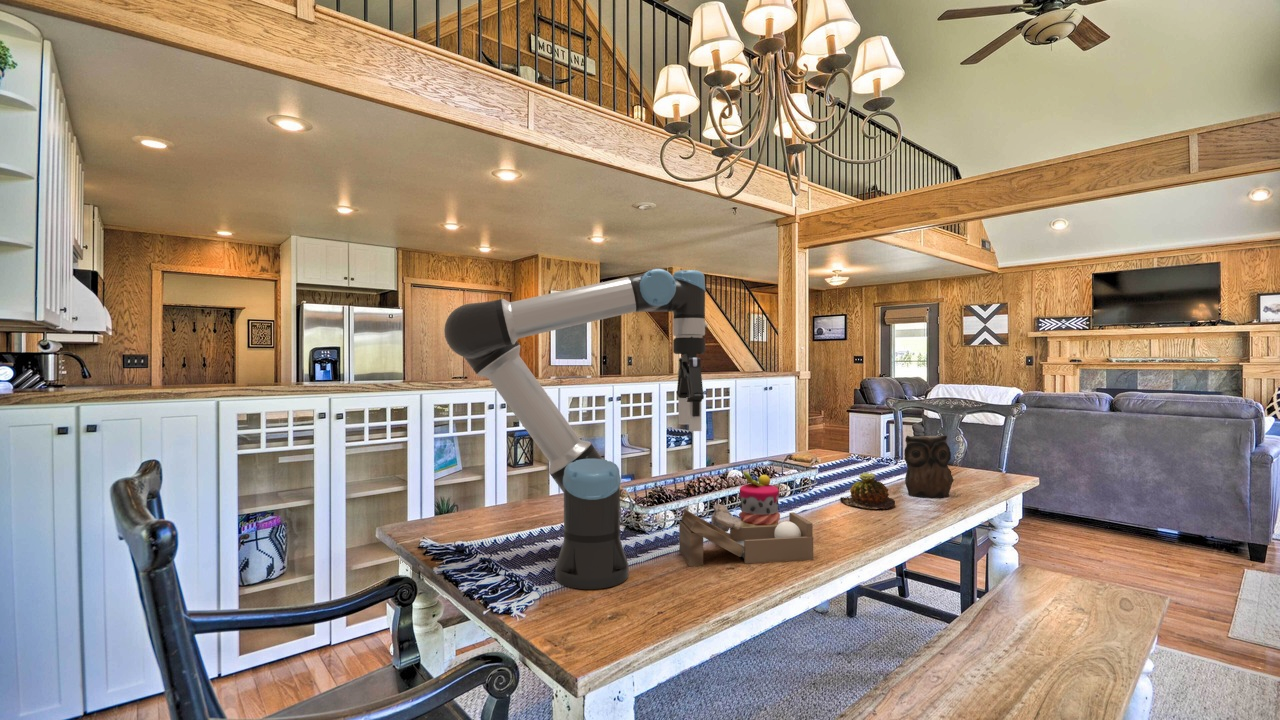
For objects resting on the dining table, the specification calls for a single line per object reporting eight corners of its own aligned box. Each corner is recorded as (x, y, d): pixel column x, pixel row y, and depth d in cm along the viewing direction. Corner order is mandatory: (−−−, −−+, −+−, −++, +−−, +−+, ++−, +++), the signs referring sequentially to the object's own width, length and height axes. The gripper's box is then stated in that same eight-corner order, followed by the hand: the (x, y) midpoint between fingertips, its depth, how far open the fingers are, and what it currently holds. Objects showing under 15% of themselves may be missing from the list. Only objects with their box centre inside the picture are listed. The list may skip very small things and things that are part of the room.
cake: (766, 521, 166) (766, 467, 166) (787, 532, 156) (787, 474, 155) (732, 525, 162) (732, 470, 162) (751, 536, 152) (751, 477, 152)
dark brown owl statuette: (954, 496, 196) (954, 435, 196) (934, 501, 189) (934, 438, 189) (917, 489, 206) (917, 431, 206) (897, 494, 199) (897, 434, 199)
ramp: (689, 566, 130) (689, 521, 130) (679, 552, 140) (679, 510, 140) (745, 562, 132) (745, 518, 132) (731, 549, 142) (731, 507, 142)
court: (745, 563, 132) (745, 527, 132) (729, 548, 142) (729, 515, 142) (813, 559, 134) (813, 523, 134) (793, 545, 145) (793, 512, 145)
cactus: (834, 497, 196) (834, 467, 196) (885, 498, 195) (885, 468, 194) (847, 510, 179) (847, 477, 179) (902, 511, 177) (902, 478, 177)
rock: (722, 537, 139) (708, 508, 141) (715, 537, 153) (703, 511, 155) (744, 526, 140) (730, 497, 142) (736, 527, 154) (723, 501, 156)
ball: (807, 547, 135) (805, 522, 139) (787, 540, 133) (785, 514, 137) (789, 554, 139) (787, 529, 143) (769, 547, 137) (768, 522, 141)
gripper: (717, 335, 128) (717, 433, 128) (694, 339, 153) (694, 421, 153) (682, 335, 128) (683, 434, 128) (665, 338, 152) (665, 422, 152)
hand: (689, 427), depth 140 cm, fingers open, 13 cm apart
